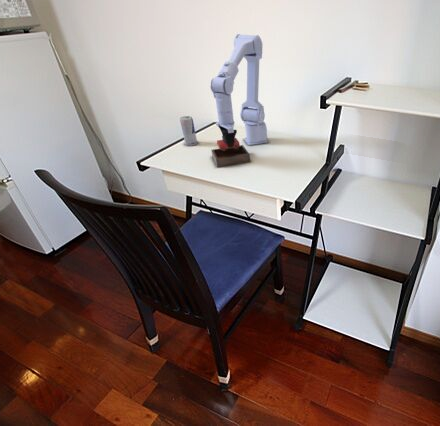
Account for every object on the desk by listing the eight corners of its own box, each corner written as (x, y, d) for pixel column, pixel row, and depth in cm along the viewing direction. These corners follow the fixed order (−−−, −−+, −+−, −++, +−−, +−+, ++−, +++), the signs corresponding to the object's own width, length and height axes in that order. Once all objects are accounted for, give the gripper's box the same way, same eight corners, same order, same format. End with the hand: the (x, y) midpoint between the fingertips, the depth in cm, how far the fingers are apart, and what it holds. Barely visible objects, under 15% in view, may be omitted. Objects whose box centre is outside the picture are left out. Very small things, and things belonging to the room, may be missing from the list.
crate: (243, 152, 134) (242, 145, 132) (250, 161, 127) (249, 154, 125) (212, 157, 129) (211, 149, 127) (217, 167, 122) (216, 159, 120)
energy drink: (199, 141, 143) (194, 116, 136) (194, 146, 138) (189, 120, 132) (188, 141, 143) (182, 115, 136) (183, 145, 139) (177, 119, 132)
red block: (235, 133, 126) (238, 137, 122) (236, 144, 128) (240, 148, 124) (216, 136, 123) (218, 140, 119) (217, 147, 125) (220, 151, 121)
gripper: (210, 106, 120) (215, 139, 128) (218, 117, 110) (223, 152, 117) (228, 104, 123) (232, 137, 131) (237, 115, 112) (241, 149, 120)
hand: (229, 144), depth 124 cm, fingers closed on red block, 5 cm apart
